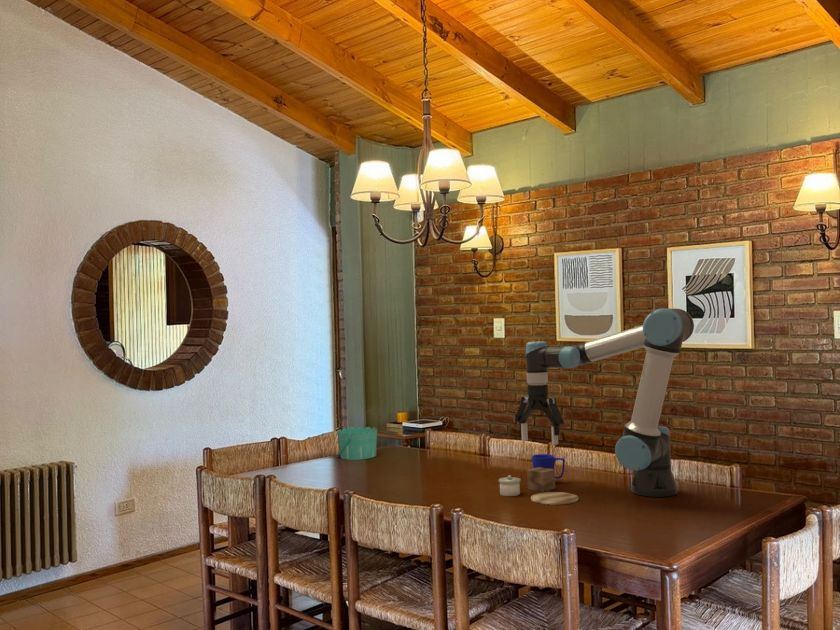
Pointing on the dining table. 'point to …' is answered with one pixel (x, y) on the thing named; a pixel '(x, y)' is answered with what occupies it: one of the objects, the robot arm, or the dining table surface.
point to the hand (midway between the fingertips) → (539, 442)
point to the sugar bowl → (509, 486)
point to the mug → (546, 462)
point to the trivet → (554, 498)
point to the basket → (357, 443)
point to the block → (541, 479)
